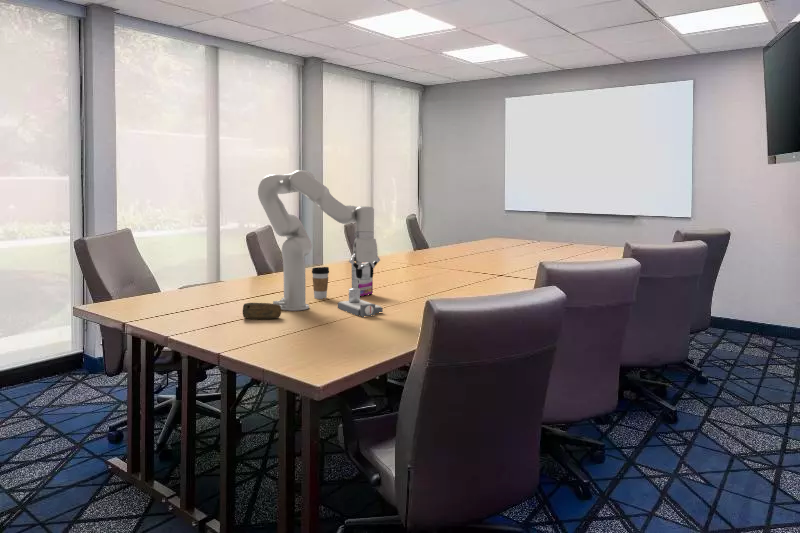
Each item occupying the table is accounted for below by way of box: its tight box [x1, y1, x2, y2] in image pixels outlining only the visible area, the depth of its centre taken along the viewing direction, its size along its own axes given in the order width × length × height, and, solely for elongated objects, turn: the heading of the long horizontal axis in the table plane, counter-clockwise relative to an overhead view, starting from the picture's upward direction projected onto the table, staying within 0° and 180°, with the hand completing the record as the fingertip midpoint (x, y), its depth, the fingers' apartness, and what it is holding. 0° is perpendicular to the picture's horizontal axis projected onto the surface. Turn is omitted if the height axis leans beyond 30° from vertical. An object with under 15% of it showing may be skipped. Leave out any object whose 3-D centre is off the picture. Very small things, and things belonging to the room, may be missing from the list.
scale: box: [337, 299, 384, 318], centre depth 258 cm, size 12×22×5 cm, turn 33°
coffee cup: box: [311, 266, 330, 300], centre depth 288 cm, size 8×8×15 cm
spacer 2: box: [359, 265, 371, 280], centre depth 254 cm, size 5×5×6 cm
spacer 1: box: [348, 287, 361, 303], centre depth 263 cm, size 5×5×6 cm
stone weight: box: [242, 302, 282, 320], centre depth 241 cm, size 15×7×7 cm, turn 100°
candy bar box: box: [351, 262, 374, 297], centre depth 296 cm, size 11×5×16 cm, turn 143°
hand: (364, 277), depth 255 cm, fingers closed on spacer 2, 5 cm apart
